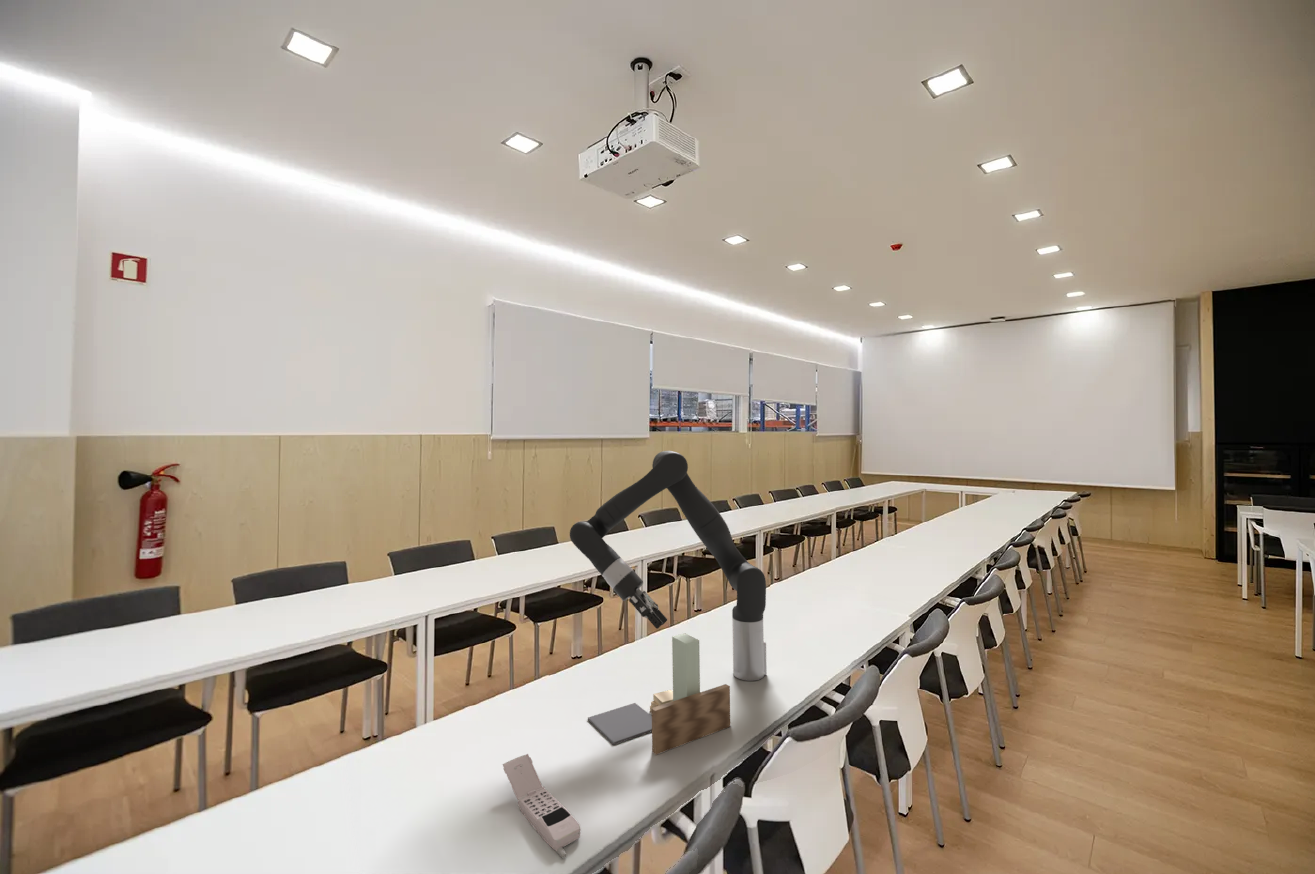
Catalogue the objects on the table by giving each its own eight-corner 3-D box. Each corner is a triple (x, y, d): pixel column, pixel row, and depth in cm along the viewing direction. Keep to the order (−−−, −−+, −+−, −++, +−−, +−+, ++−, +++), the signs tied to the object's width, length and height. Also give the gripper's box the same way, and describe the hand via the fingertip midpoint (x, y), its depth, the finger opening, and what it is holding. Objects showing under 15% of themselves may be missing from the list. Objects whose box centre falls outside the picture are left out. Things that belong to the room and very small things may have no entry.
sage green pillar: (686, 719, 141) (685, 633, 141) (700, 729, 136) (699, 640, 136) (673, 723, 139) (672, 636, 139) (687, 734, 134) (686, 643, 134)
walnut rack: (710, 713, 144) (709, 674, 144) (730, 726, 138) (729, 686, 138) (637, 738, 132) (637, 697, 132) (655, 754, 126) (655, 710, 126)
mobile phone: (527, 752, 118) (588, 812, 98) (528, 780, 118) (589, 846, 98) (500, 763, 114) (558, 828, 94) (501, 791, 114) (559, 863, 94)
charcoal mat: (635, 704, 149) (634, 702, 149) (663, 727, 138) (663, 724, 138) (587, 719, 142) (587, 717, 142) (613, 744, 130) (613, 742, 130)
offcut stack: (670, 704, 150) (669, 687, 150) (684, 713, 145) (684, 696, 145) (649, 711, 146) (648, 694, 146) (663, 721, 141) (663, 704, 141)
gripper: (626, 569, 146) (669, 617, 142) (637, 568, 159) (676, 612, 155) (606, 589, 145) (648, 638, 141) (618, 587, 159) (656, 631, 155)
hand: (662, 624), depth 148 cm, fingers open, 8 cm apart
